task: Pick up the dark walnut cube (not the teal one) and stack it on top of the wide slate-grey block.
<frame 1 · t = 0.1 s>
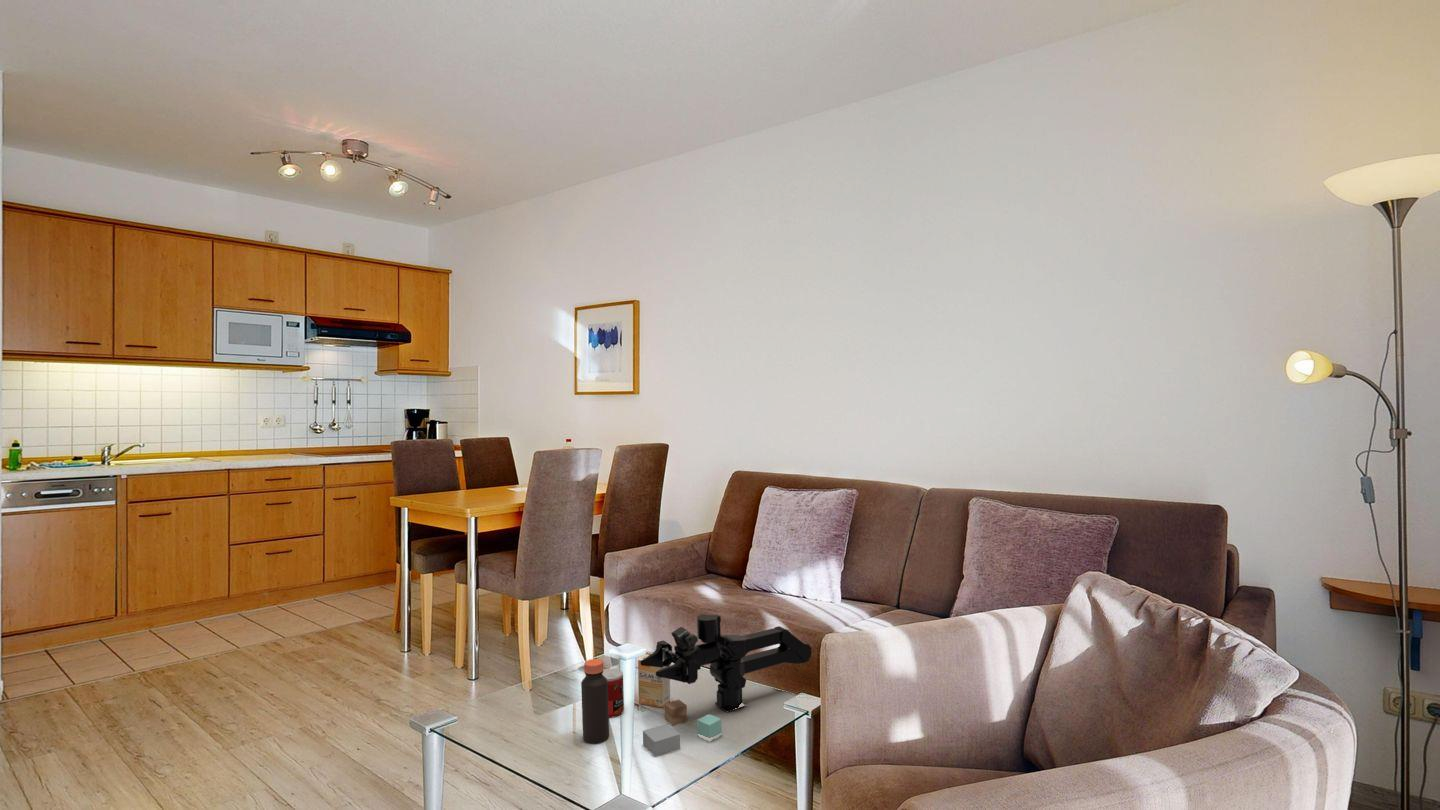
hand: (648, 668, 198), 17 cm above the table, tool horizontal, fingers open, 9 cm apart
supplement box: (654, 703, 214), on the table
slate block: (661, 747, 189), on the table
canned food: (610, 712, 209), on the table
bottle: (596, 738, 194), on the table
teal cube: (709, 736, 194), on the table
walnut cube: (675, 720, 203), on the table
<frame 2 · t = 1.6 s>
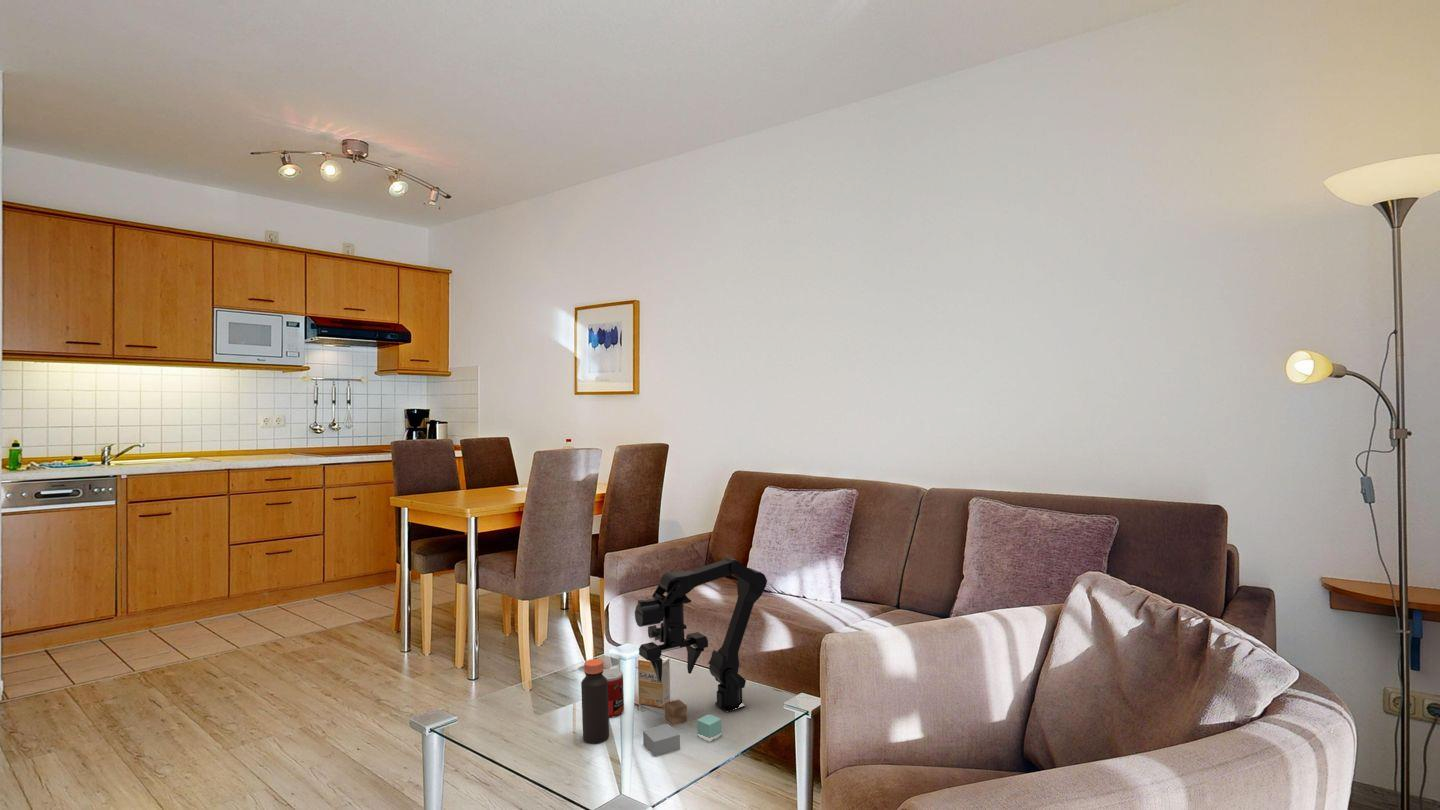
hand: (674, 676, 203), 12 cm above the table, tool pointing down, fingers open, 9 cm apart
nothing on the table moved.
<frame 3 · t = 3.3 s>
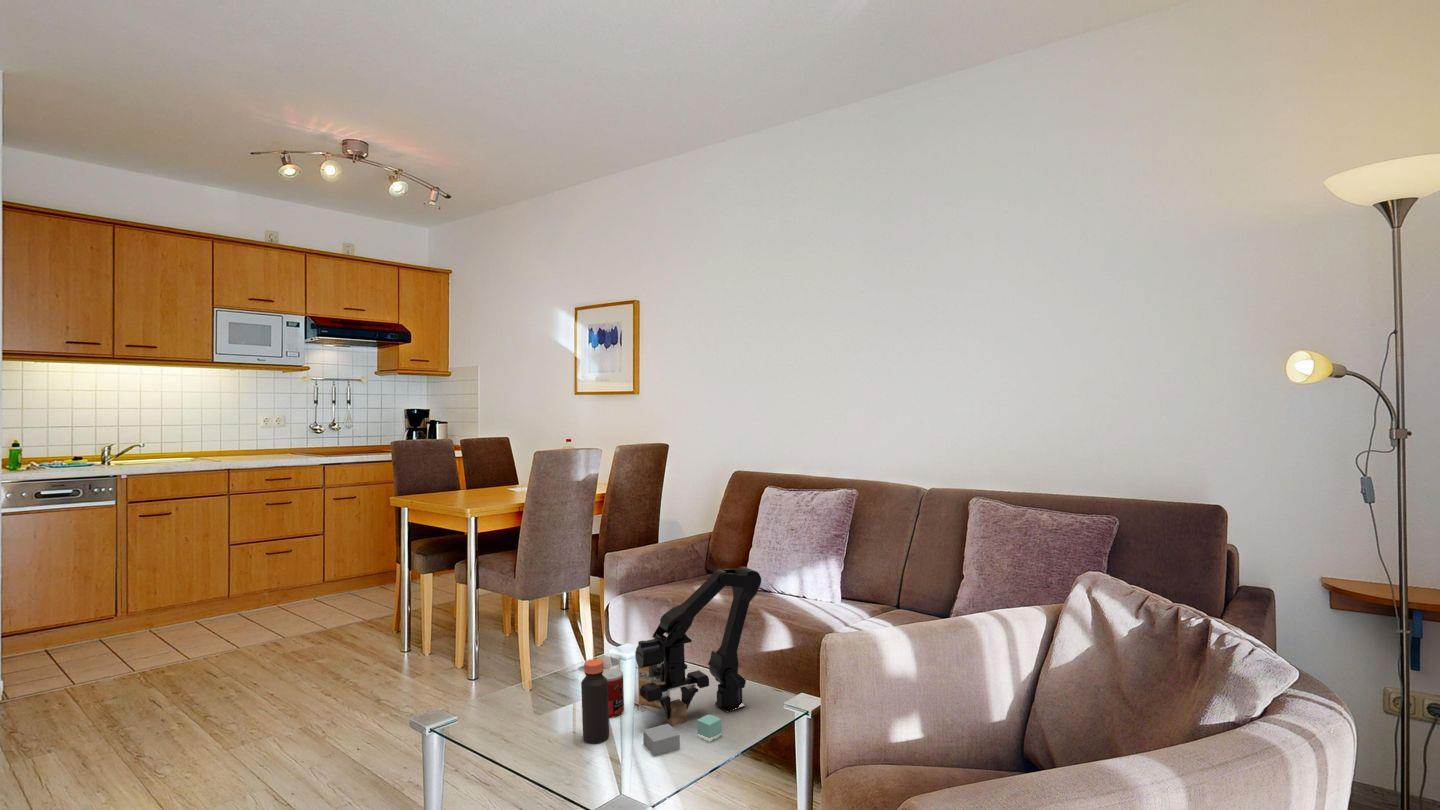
hand: (675, 716, 203), 1 cm above the table, tool pointing down, fingers closed on walnut cube, 4 cm apart
walnut cube: (675, 720, 203), on the table, touching gripper
everything else where it was.
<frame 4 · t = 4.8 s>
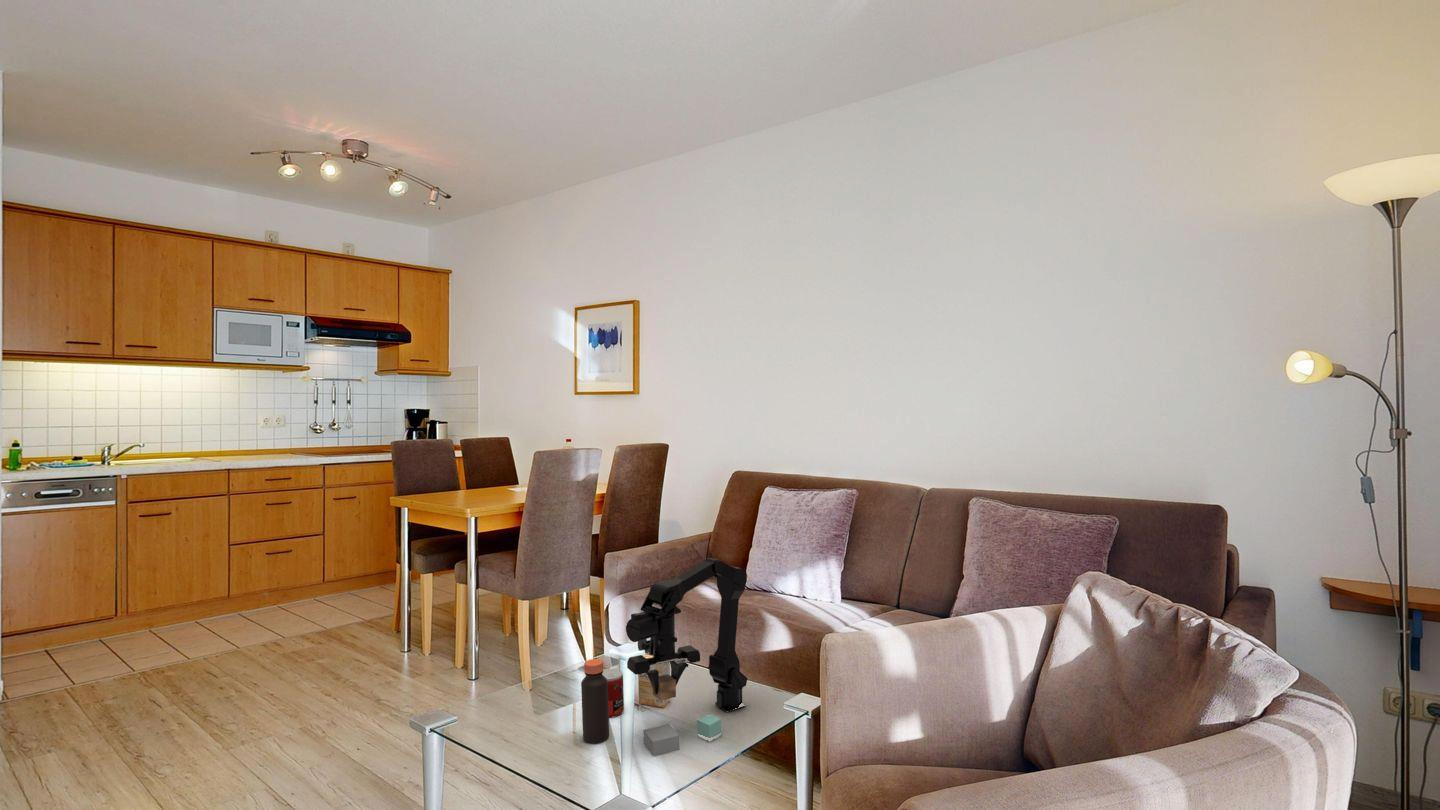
hand: (664, 692, 194), 12 cm above the table, tool pointing down, fingers closed on walnut cube, 4 cm apart
walnut cube: (664, 695, 194), point 11 cm above the table, touching gripper
everything else where it was.
when the fingers open (6 cm above the table, at t = 6.4 s): walnut cube drops 1 cm, resting on slate block.
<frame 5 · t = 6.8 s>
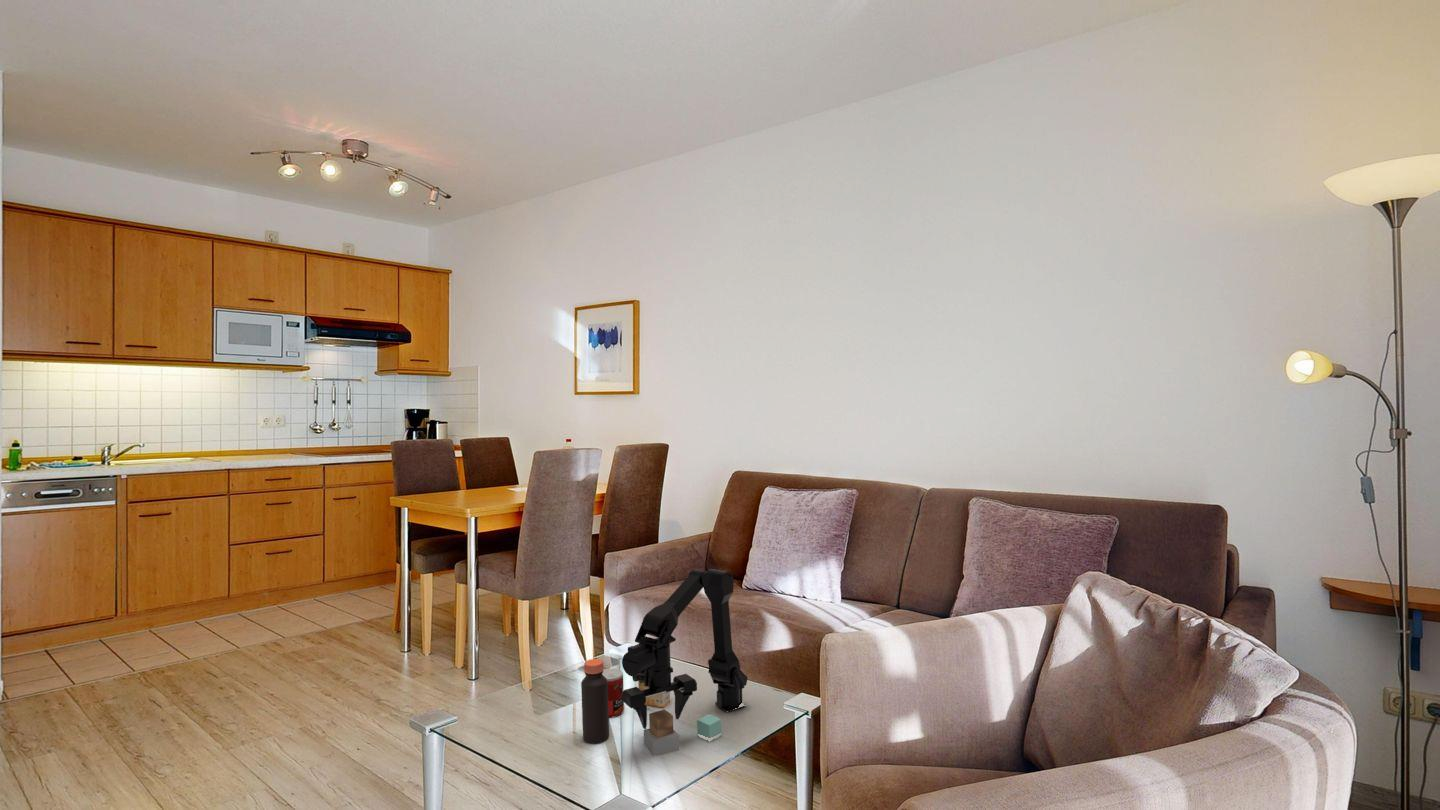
hand: (660, 723, 189), 6 cm above the table, tool pointing down, fingers open, 9 cm apart
slate block: (661, 748, 189), on the table, touching walnut cube
walnut cube: (661, 732, 189), point 4 cm above the table, touching slate block
everything else where it was.
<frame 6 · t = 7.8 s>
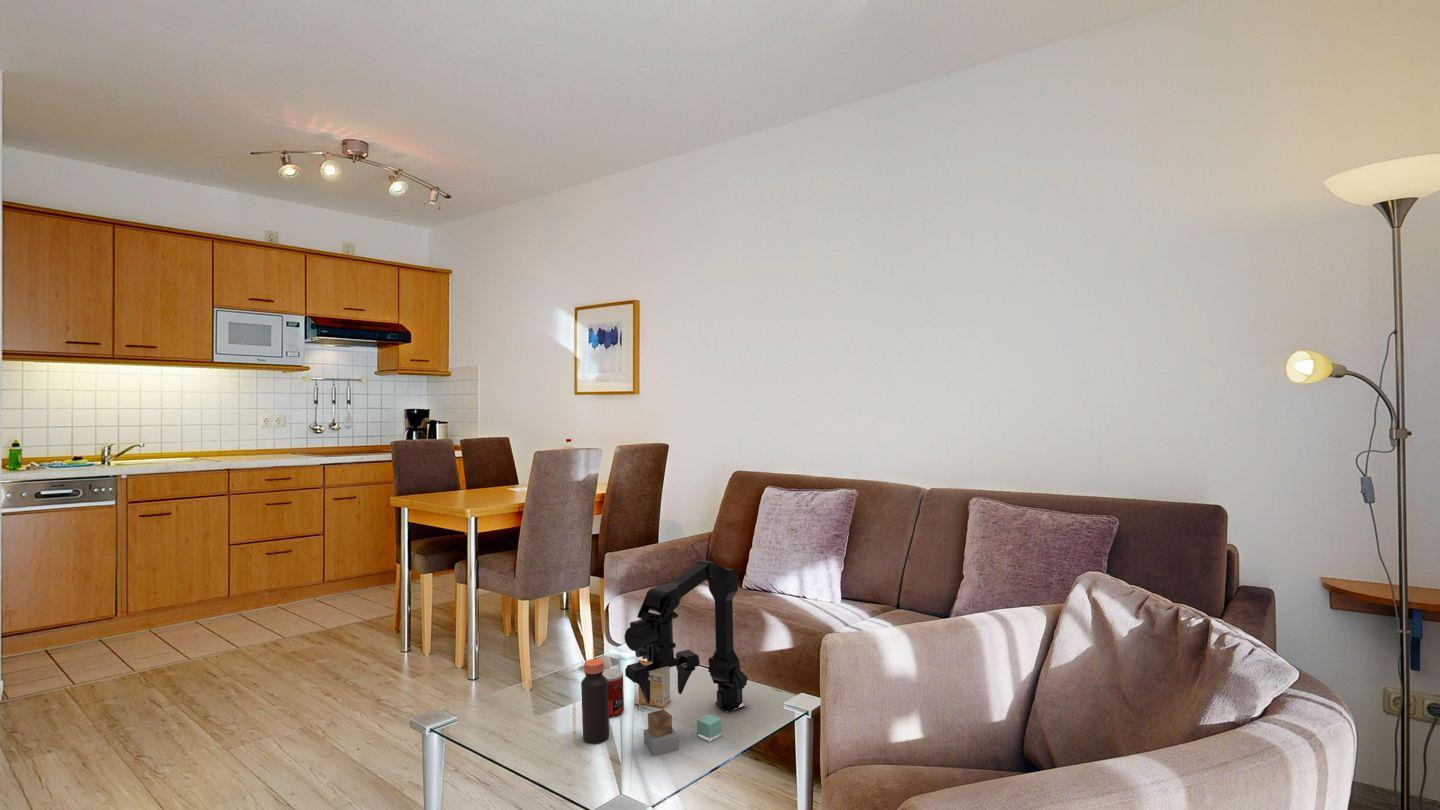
hand: (664, 698, 190), 12 cm above the table, tool pointing down, fingers open, 9 cm apart
slate block: (661, 748, 189), on the table
walnut cube: (660, 731, 189), point 4 cm above the table
everything else where it was.
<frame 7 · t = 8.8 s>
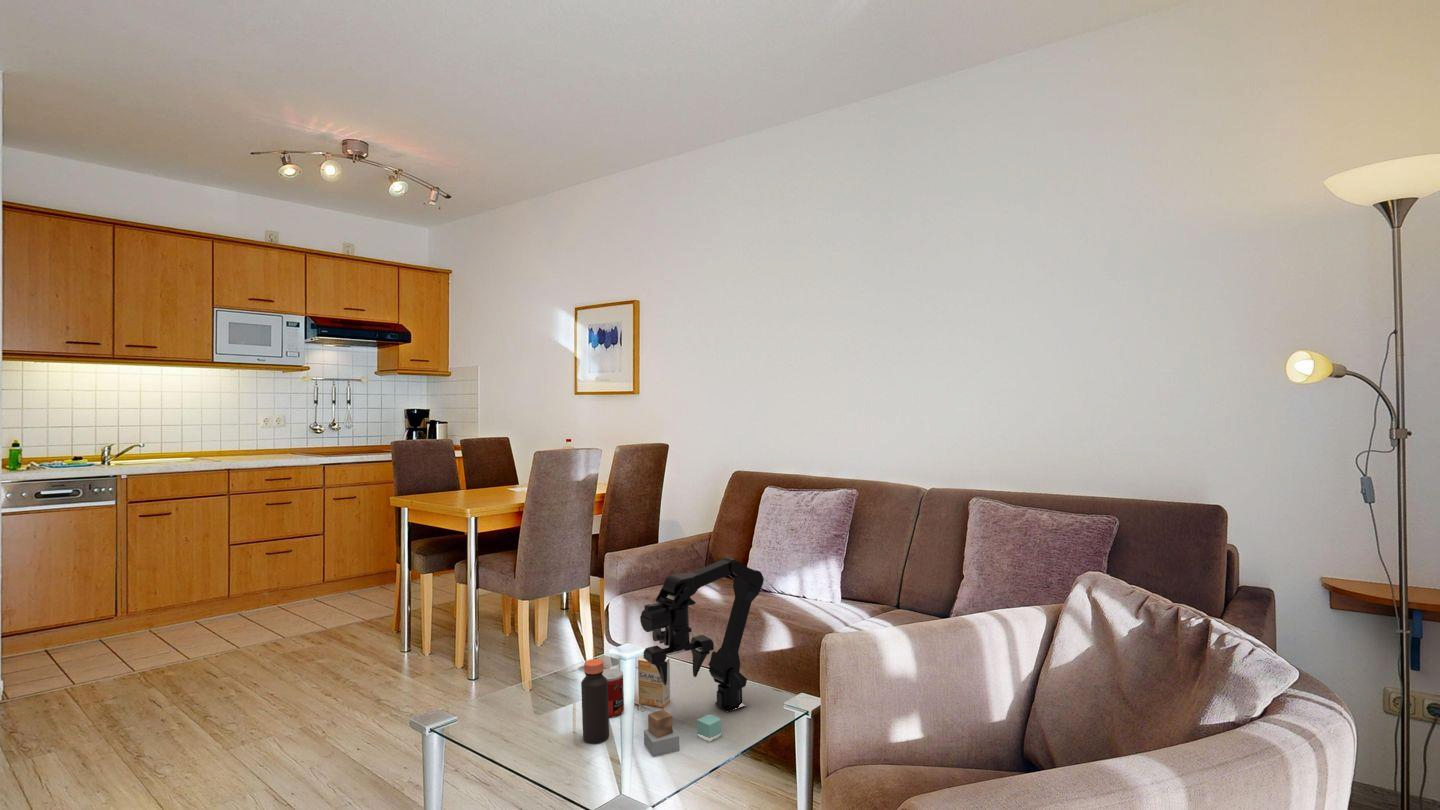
hand: (679, 680, 200), 12 cm above the table, tool pointing down, fingers open, 9 cm apart
slate block: (661, 748, 189), on the table, touching walnut cube
walnut cube: (660, 732, 189), point 4 cm above the table, touching slate block
everything else where it was.
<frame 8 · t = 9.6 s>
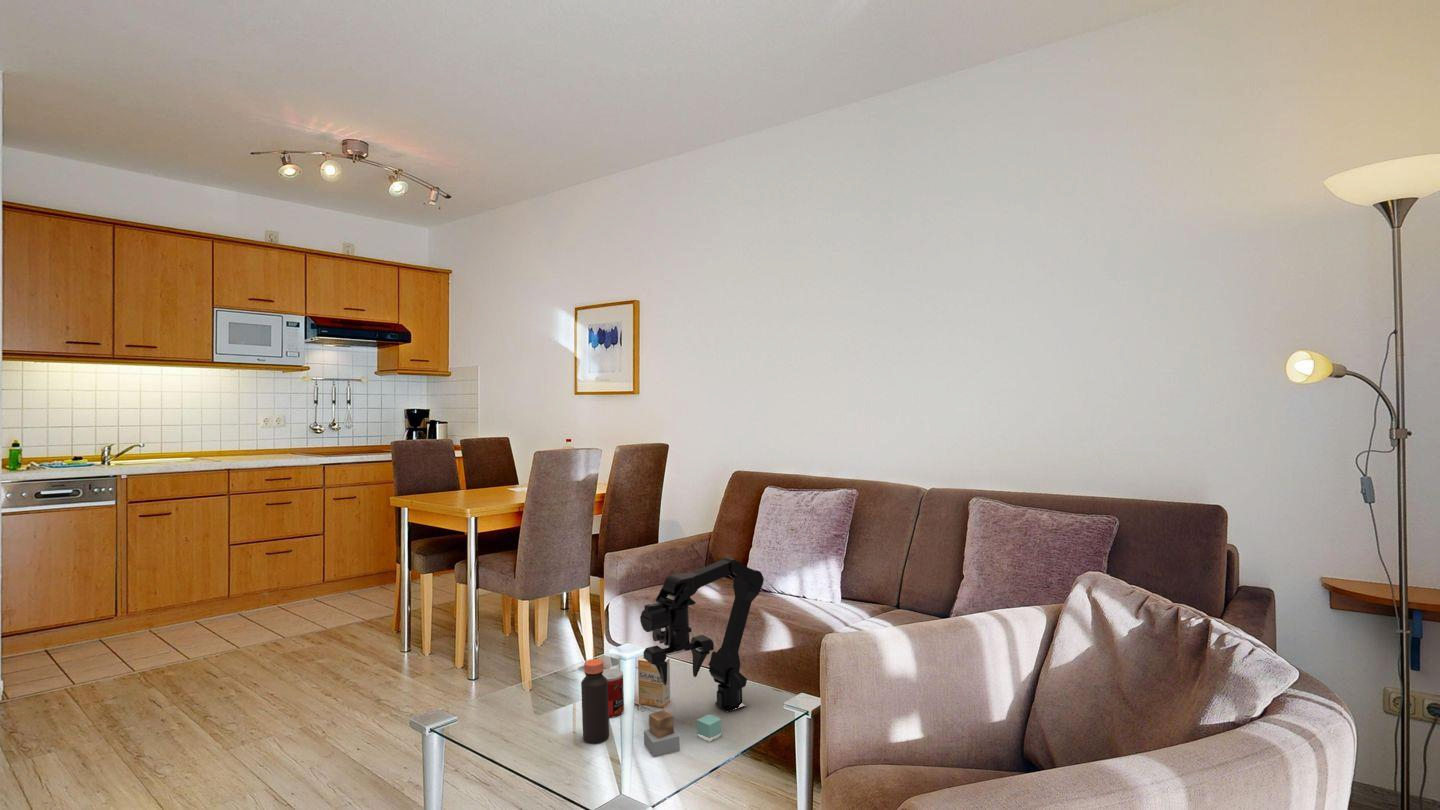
hand: (679, 680, 200), 12 cm above the table, tool pointing down, fingers open, 9 cm apart
nothing on the table moved.
at the end: walnut cube 0.3 cm off-centre on the slate block, point 4.0 cm above the slate block's base; walnut cube tilted 0°; the gripper is holding nothing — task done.
